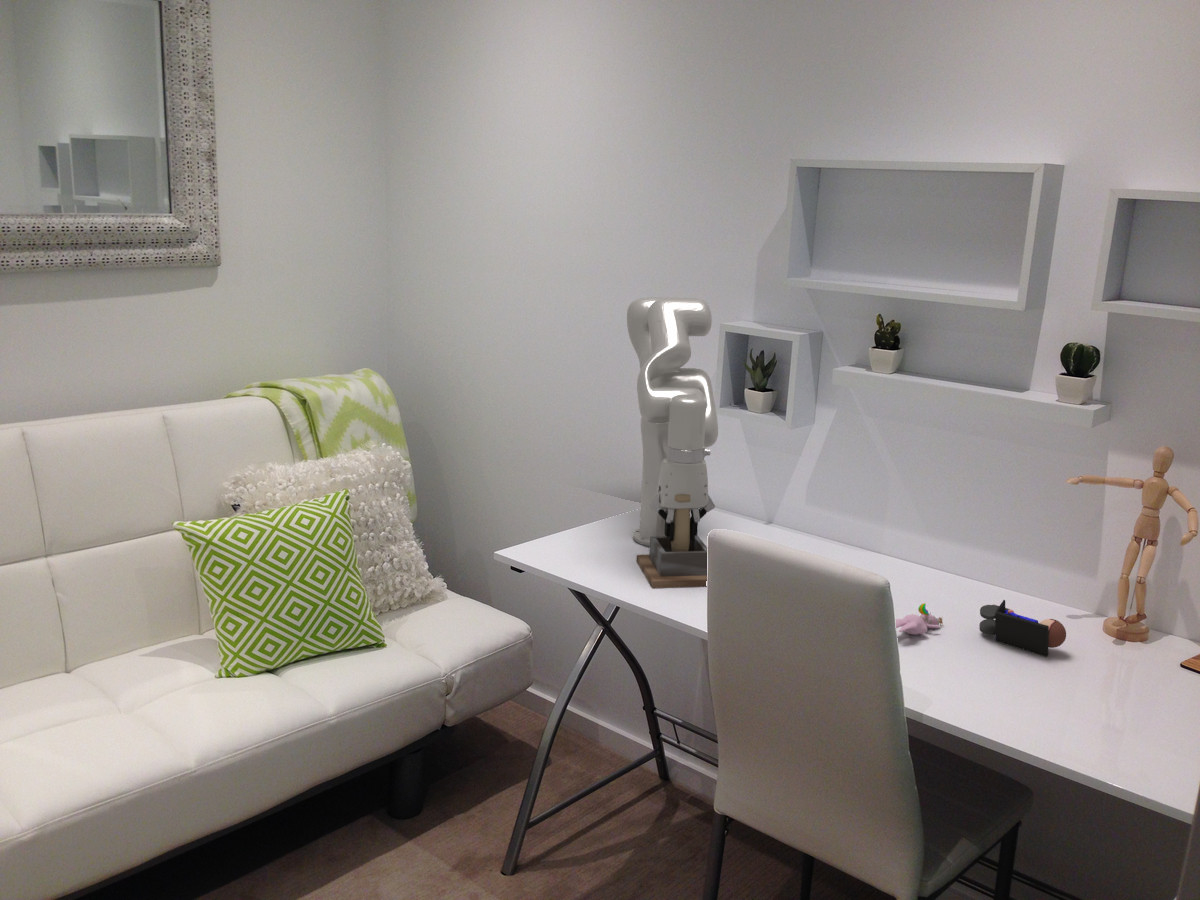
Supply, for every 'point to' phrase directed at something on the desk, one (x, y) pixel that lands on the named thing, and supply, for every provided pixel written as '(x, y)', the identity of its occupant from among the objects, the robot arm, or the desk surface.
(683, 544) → the handle
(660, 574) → the stand
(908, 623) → the pink unicorn toy
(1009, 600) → the desk surface
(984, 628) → the character figurine
